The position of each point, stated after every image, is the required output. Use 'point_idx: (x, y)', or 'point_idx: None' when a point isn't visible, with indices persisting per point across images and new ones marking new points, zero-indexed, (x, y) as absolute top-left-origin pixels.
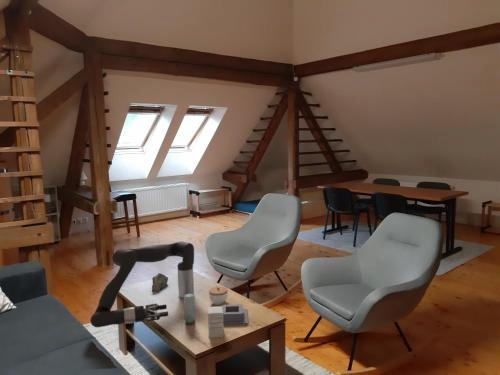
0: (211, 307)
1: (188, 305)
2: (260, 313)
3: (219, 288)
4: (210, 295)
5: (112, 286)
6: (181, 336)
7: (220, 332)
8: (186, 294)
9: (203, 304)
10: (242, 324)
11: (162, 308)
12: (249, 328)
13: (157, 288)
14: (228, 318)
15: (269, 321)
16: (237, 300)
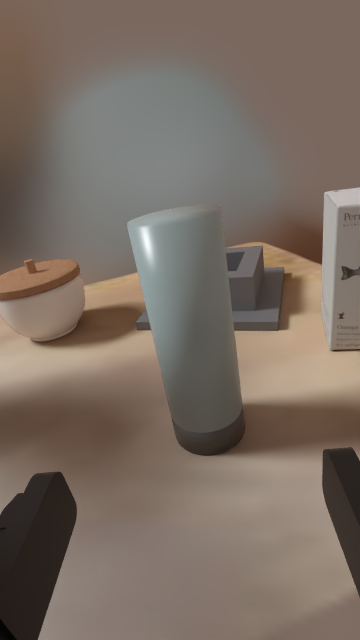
0: (345, 199)
1: (226, 288)
2: None
3: (24, 271)
4: (33, 304)
5: None
6: None
7: None
8: (131, 225)
9: (19, 370)
10: (283, 279)
11: (48, 570)
12: (313, 271)
13: None
14: (257, 285)
15: (270, 250)
16: (85, 295)
